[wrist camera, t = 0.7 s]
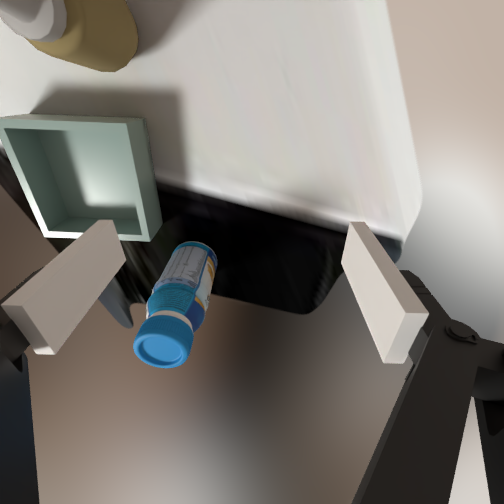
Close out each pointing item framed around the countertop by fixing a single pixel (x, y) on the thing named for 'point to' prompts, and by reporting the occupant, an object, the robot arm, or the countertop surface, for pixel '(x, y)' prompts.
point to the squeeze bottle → (76, 30)
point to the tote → (85, 172)
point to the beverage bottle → (177, 306)
